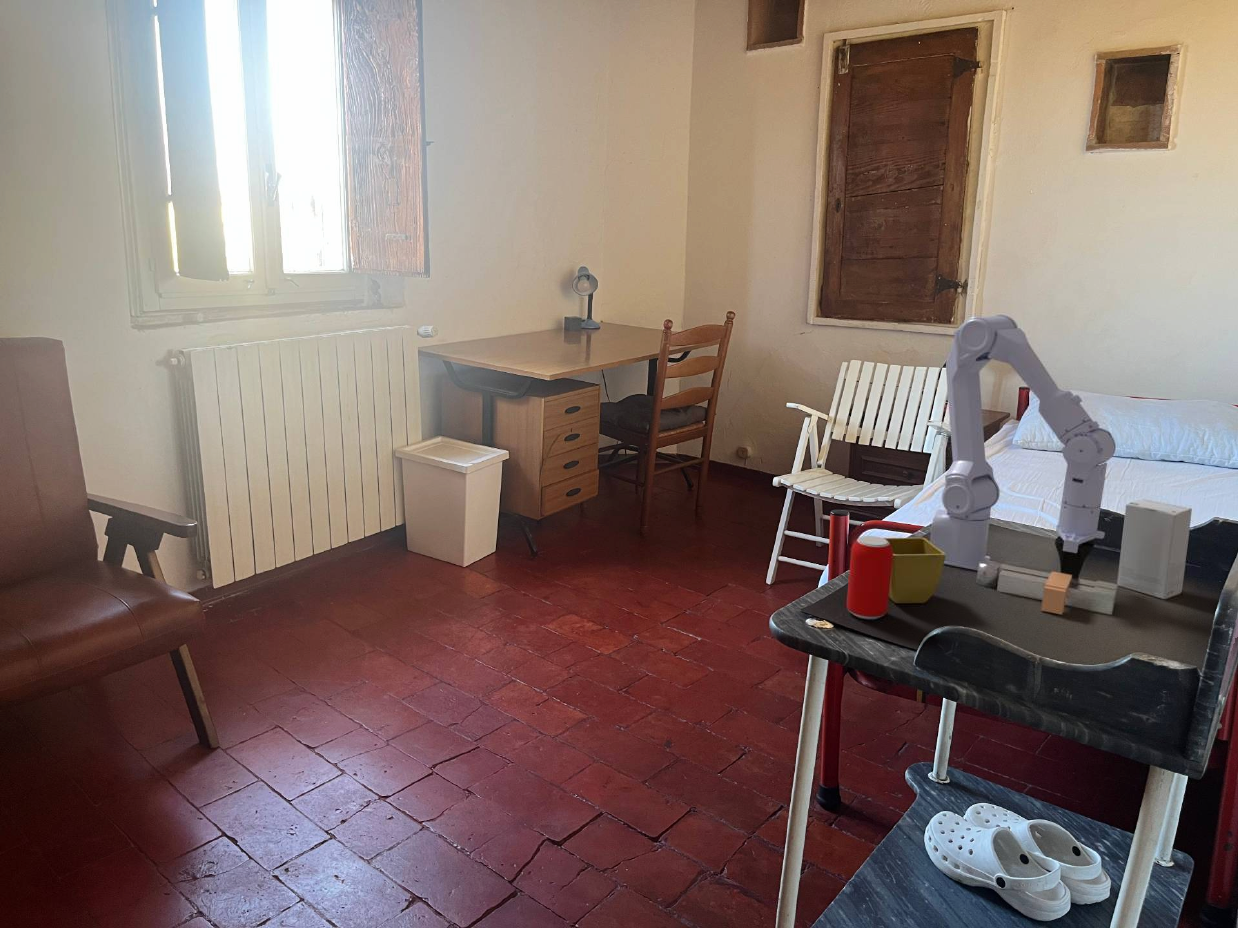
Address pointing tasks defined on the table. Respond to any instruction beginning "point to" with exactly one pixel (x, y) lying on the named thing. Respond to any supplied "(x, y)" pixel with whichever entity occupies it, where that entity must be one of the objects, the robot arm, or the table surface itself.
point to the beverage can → (869, 577)
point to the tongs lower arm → (1075, 594)
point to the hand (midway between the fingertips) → (1068, 581)
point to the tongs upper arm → (991, 570)
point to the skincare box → (1154, 548)
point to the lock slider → (1055, 592)
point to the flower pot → (914, 569)
